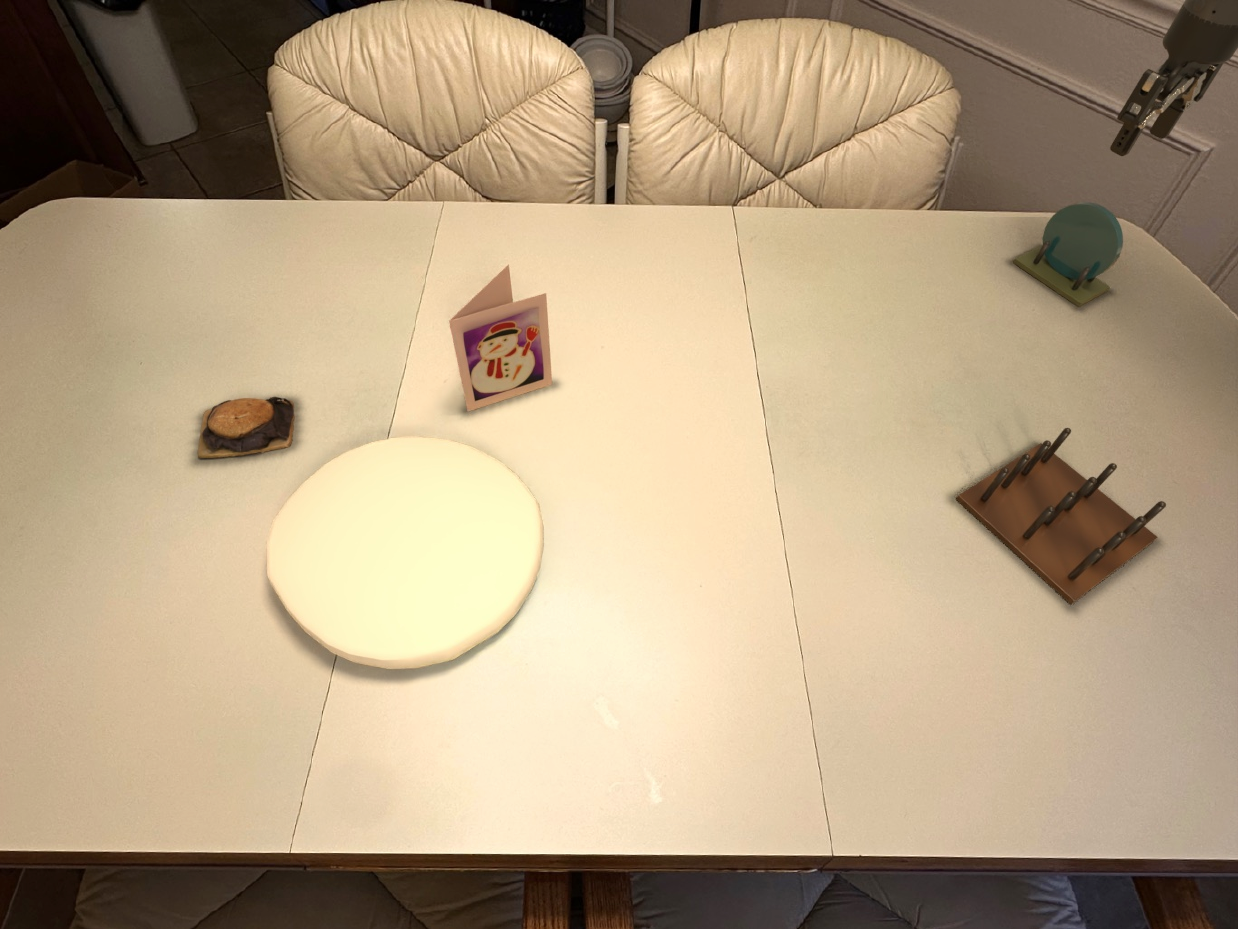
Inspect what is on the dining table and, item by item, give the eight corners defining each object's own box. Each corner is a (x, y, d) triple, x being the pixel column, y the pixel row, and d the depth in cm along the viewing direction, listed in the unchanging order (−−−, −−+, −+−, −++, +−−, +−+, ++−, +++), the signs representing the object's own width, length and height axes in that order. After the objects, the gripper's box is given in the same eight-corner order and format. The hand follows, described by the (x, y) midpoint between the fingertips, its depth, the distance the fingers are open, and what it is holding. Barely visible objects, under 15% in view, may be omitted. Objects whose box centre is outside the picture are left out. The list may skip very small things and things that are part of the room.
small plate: (1034, 251, 115) (1071, 187, 106) (1095, 291, 109) (1139, 227, 101) (1029, 253, 114) (1065, 189, 106) (1090, 294, 109) (1134, 230, 100)
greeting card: (469, 416, 93) (451, 325, 81) (451, 376, 96) (431, 285, 85) (554, 388, 96) (549, 297, 84) (533, 351, 100) (525, 259, 88)
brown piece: (197, 463, 87) (183, 444, 84) (207, 410, 92) (194, 390, 89) (292, 451, 89) (281, 431, 86) (296, 399, 93) (286, 378, 90)
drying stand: (1041, 248, 117) (1056, 221, 113) (1107, 291, 111) (1126, 264, 107) (1012, 262, 114) (1026, 236, 111) (1078, 307, 108) (1096, 280, 105)
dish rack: (1038, 446, 92) (1065, 410, 87) (1153, 540, 84) (1192, 507, 79) (955, 499, 87) (979, 464, 82) (1070, 604, 79) (1105, 573, 74)
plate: (580, 473, 82) (476, 699, 66) (576, 504, 87) (478, 720, 72) (350, 390, 84) (198, 590, 69) (359, 425, 89) (220, 618, 74)
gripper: (1216, 34, 79) (1129, 173, 92) (1287, 7, 84) (1196, 142, 97) (1153, 8, 83) (1078, 145, 96) (1225, -17, 88) (1144, 117, 101)
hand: (1137, 144), depth 97 cm, fingers open, 8 cm apart
